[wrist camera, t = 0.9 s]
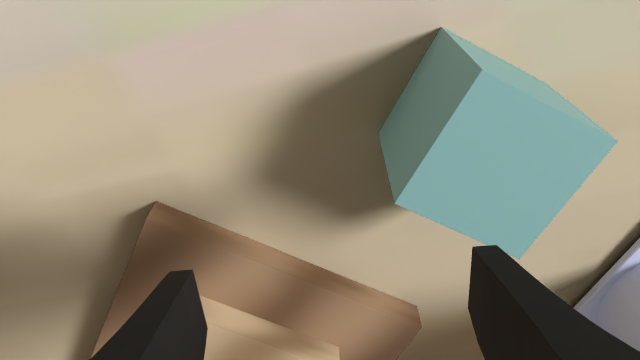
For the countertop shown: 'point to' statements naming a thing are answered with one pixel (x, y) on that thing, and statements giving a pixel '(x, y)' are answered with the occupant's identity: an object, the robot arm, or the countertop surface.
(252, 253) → the walnut stand
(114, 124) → the countertop surface
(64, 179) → the countertop surface
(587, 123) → the teal block
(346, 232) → the countertop surface
